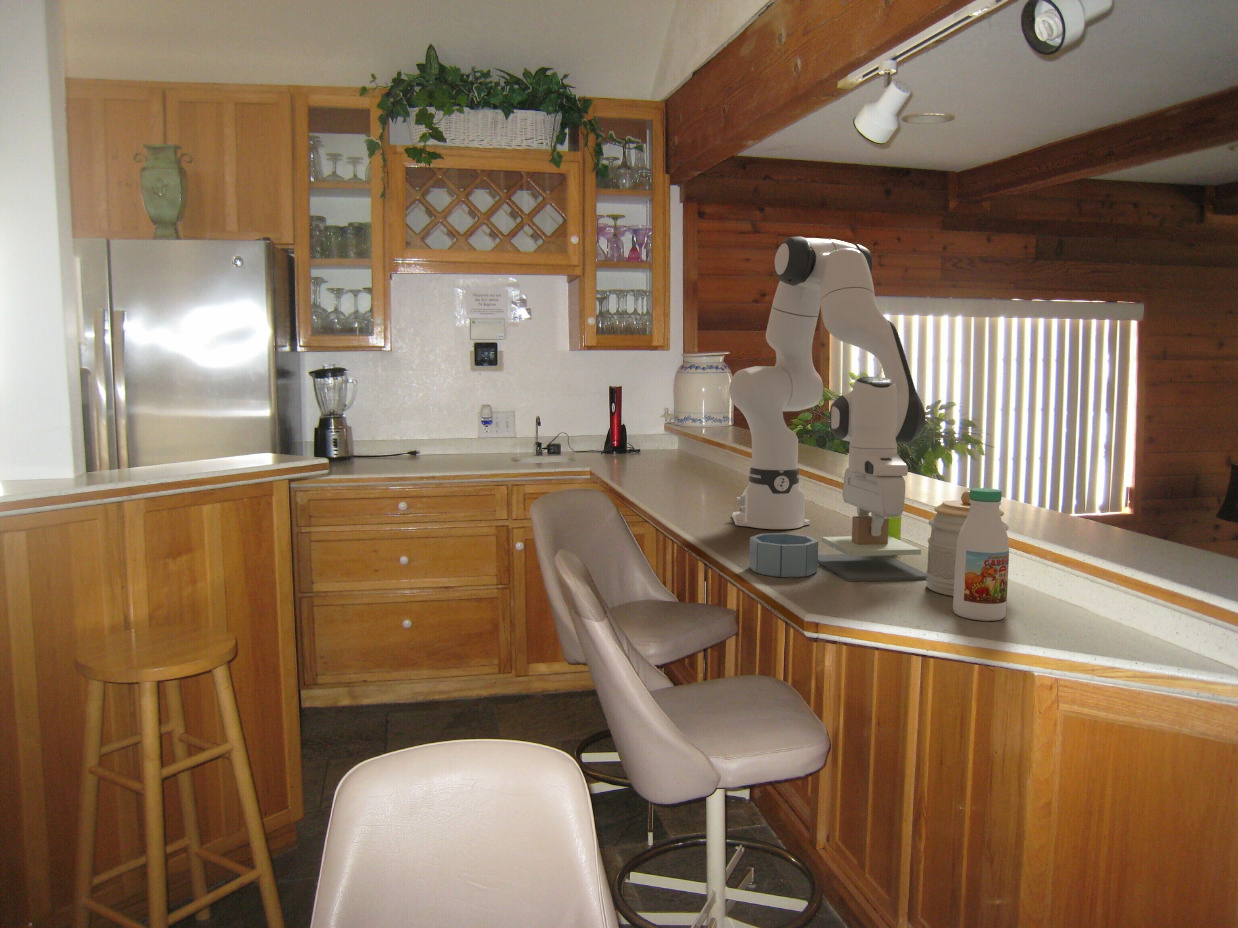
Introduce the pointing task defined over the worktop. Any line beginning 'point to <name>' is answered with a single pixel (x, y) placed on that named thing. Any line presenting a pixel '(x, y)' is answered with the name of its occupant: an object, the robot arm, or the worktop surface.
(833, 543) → the cover
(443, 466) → the worktop surface
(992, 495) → the milk bottle
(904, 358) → the robot arm
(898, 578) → the mat
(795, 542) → the bowl
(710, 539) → the worktop surface
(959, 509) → the jar
